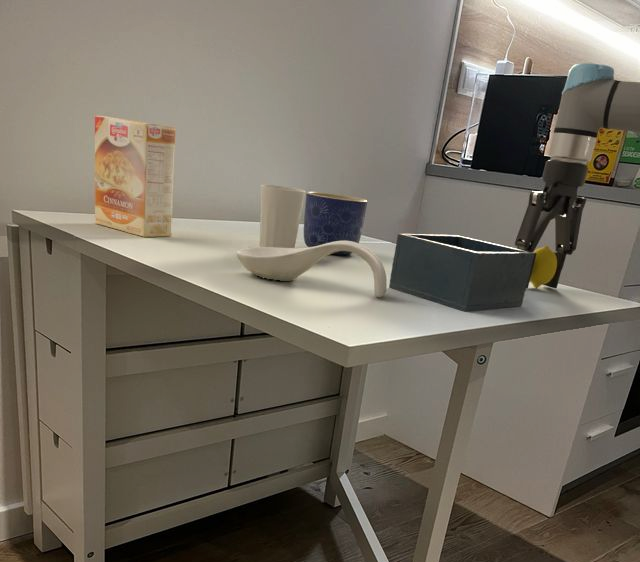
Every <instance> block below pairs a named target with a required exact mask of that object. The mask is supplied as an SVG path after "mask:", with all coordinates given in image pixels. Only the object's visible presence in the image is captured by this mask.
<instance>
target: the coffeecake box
mask: <svg viewBox="0 0 640 562" xmlns="http://www.w3.org/2000/svg"><path fill="white" fill-rule="evenodd" d="M176 129H177V128H176V126H170V125H163V124H155V123H149V122H143V121H138V120H131V119H126V118H117V117H112V116H111V117H110V116H106V115H105V116H104V115H94V224H96V225H100V226H104V227H108V228H111V229H114V230H118V231H122V232H124V233H129V234H131V235H136V236H138V237H142V236H143V238H157V237H159V238H161V237H172V225H173V203H174V202H173V200H174V199H173V198H174V179H175V178H174V177H175V152H176V151H175V150H176V131H177V130H176Z"/></svg>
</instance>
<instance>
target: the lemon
mask: <svg viewBox="0 0 640 562" xmlns="http://www.w3.org/2000/svg"><path fill="white" fill-rule="evenodd" d="M554 252H555V251H553V249H551V248H550V247H549V246H548V245H544V246H543V247H540V248H539V247H538V248H537V249H535V250H534V252H533V253H537V254H536V258H535V262H534V266H533V270H532V274H531V278H530V282H529V283H531V284H532V286H533V288H535V289H538V288H540V287H541V286H545V285H544V284H546V283H548V282H549V281H550V280H551V279H552V278H553V276H554V274H555V272H556V268H557V258H556V255H555V253H554Z"/></svg>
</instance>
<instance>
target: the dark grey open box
mask: <svg viewBox="0 0 640 562" xmlns="http://www.w3.org/2000/svg"><path fill="white" fill-rule="evenodd" d="M395 243H396V244H395V247H394V248H395V250H394V255H393V260H392V266H391V272H390V278H389V285H388V288H390V289H394V290H397V291H400V292H403V293H406V294H409V295H412V296H415V297H418V298H421V299H424V300H428V301H431V302H434V303H437V304H439V305H440V304H441V305H443V306H446V307H450V308H453V309H456V310H459V311H461V312H474V311H484V310H485V311H486V310H495V309H505V308H506V309H507V308H515V307H522V306H523V302H524V299H525V295H526V290H527V288H526V287H527V283H528V279H529V275H530V271H531V267H532V263H533V259H534V255H535V253H532V252H528V251H524V250H519V249H517V248H514V247H510V246H506V245H502V244H498V243H492V242H489V241H483V240H480V239H475V238H470V237H466V236H462V235H458V234H428V233H427V234H425V233H397V237H396V242H395Z"/></svg>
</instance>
